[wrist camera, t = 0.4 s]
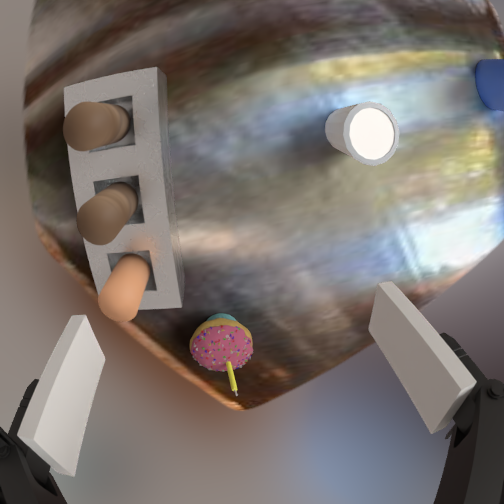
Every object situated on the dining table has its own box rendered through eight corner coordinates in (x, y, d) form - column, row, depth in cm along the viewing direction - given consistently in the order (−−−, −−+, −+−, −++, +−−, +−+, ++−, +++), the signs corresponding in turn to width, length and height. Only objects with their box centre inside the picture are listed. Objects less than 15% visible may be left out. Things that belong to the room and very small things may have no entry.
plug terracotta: (113, 254, 31) (93, 287, 25) (146, 252, 31) (132, 285, 25) (121, 285, 33) (104, 322, 26) (153, 283, 33) (142, 321, 27)
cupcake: (261, 325, 44) (275, 385, 33) (220, 355, 46) (225, 416, 35) (219, 291, 41) (223, 352, 30) (179, 326, 42) (172, 388, 31)
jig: (86, 91, 27) (64, 87, 22) (166, 75, 28) (156, 67, 23) (115, 285, 38) (103, 310, 33) (185, 281, 39) (181, 307, 34)
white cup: (313, 147, 34) (335, 154, 28) (327, 95, 31) (352, 91, 25) (361, 163, 35) (390, 173, 29) (375, 114, 33) (406, 115, 26)
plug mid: (100, 184, 27) (72, 202, 21) (135, 179, 28) (115, 196, 22) (106, 220, 29) (82, 247, 23) (141, 216, 30) (123, 243, 23)
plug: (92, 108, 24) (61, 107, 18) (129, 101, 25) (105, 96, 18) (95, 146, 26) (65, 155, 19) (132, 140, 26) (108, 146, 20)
